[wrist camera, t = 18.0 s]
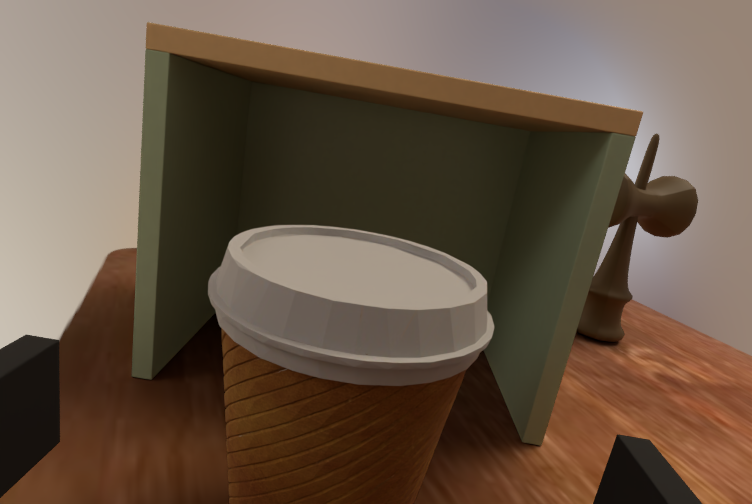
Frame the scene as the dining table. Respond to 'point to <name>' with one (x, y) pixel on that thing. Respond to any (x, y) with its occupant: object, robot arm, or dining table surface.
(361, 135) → the cabinet
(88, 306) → the dining table surface
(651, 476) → the robot arm
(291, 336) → the disposable coffee cup
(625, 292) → the kendama
